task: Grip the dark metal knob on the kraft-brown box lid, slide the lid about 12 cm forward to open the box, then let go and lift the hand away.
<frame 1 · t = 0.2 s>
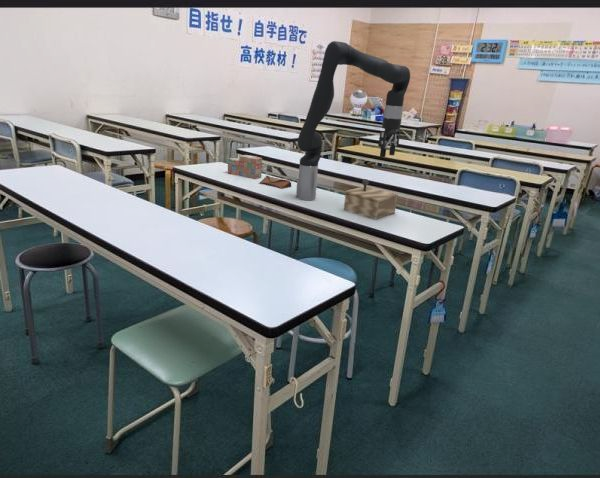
hand: (387, 156, 187), 28 cm above the table, tool pointing down, fingers open, 8 cm apart
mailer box: (369, 211, 207), on the table
stack of blocks: (244, 176, 265), on the table
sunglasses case: (274, 186, 247), on the table
box lid: (372, 187, 203), point 12 cm above the table, slide at 0.0 cm
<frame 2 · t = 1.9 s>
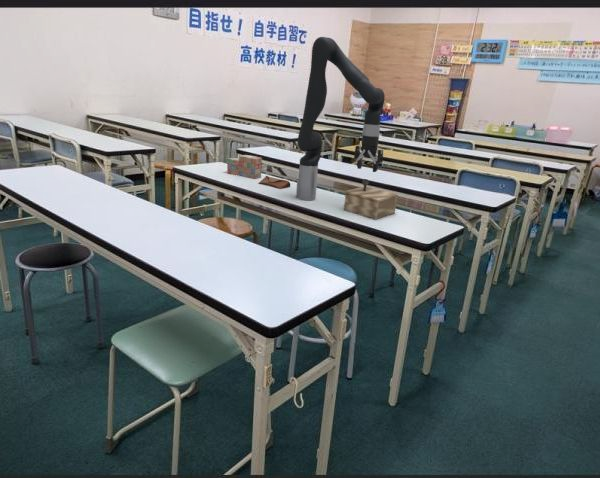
hand: (366, 170, 203), 19 cm above the table, tool pointing down, fingers open, 8 cm apart
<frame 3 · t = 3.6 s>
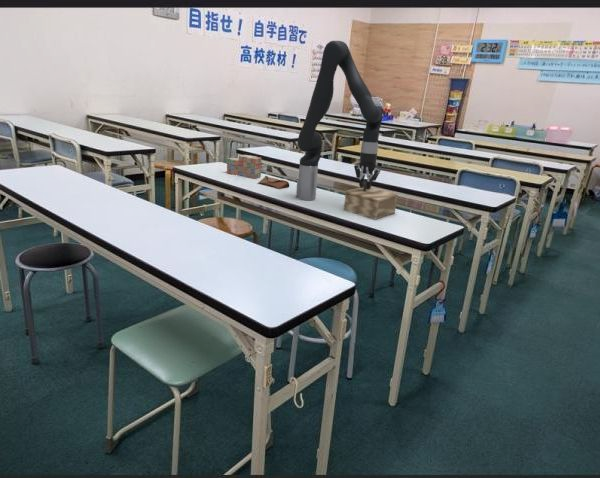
hand: (364, 188, 206), 11 cm above the table, tool pointing down, fingers closed on box lid, 3 cm apart
box lid: (372, 187, 203), point 12 cm above the table, slide at 0.0 cm, touching gripper
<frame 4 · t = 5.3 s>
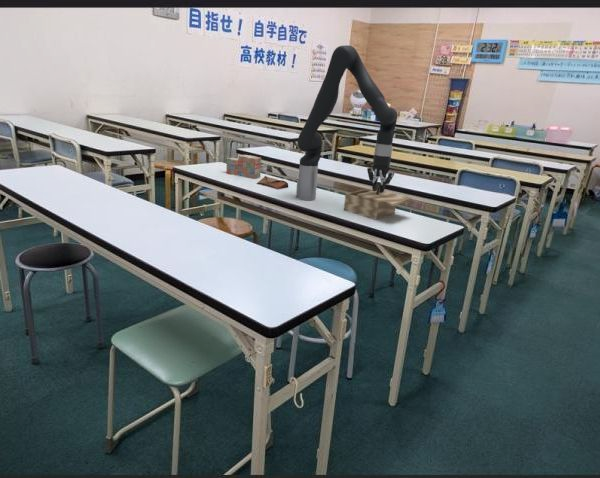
hand: (377, 191, 202), 11 cm above the table, tool pointing down, fingers closed on box lid, 3 cm apart
box lid: (385, 191, 199), point 12 cm above the table, slide at 7.4 cm, touching gripper
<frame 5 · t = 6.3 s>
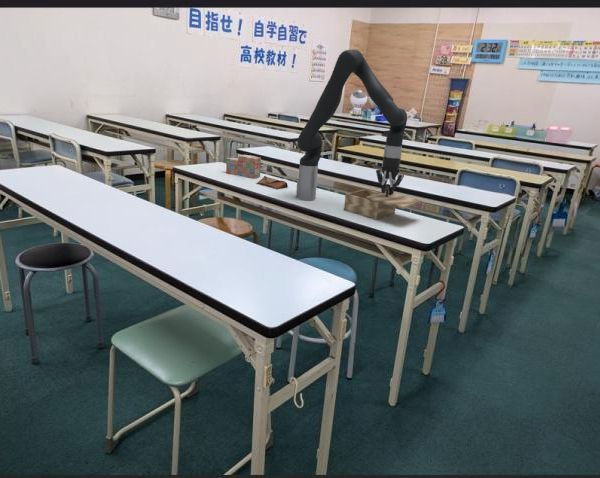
hand: (387, 193, 199), 11 cm above the table, tool pointing down, fingers closed on box lid, 3 cm apart
box lid: (394, 193, 196), point 12 cm above the table, slide at 12.3 cm, touching gripper
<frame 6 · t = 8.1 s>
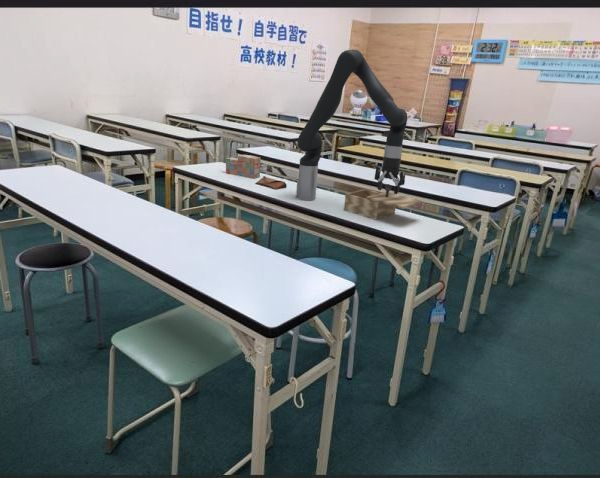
hand: (387, 191, 198), 12 cm above the table, tool pointing down, fingers open, 8 cm apart
box lid: (395, 193, 196), point 12 cm above the table, slide at 12.4 cm
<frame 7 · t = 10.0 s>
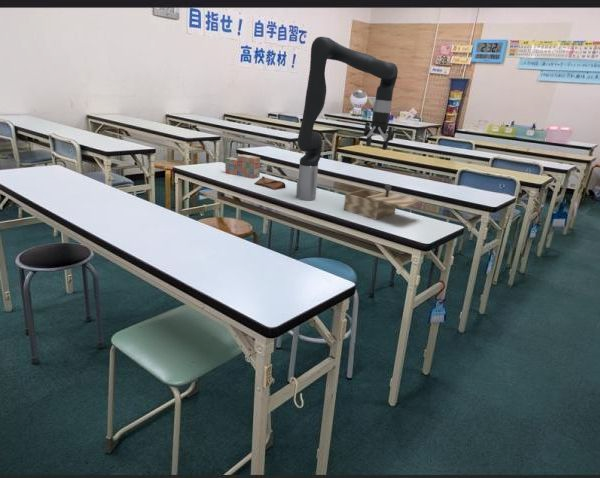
hand: (376, 147, 199), 30 cm above the table, tool pointing down, fingers open, 8 cm apart
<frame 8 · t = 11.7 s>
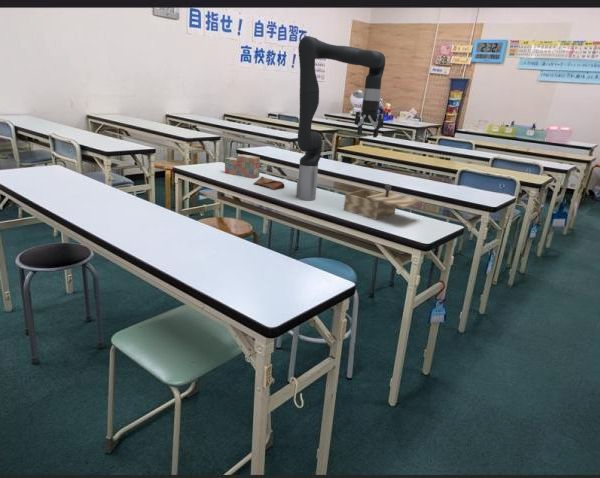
hand: (367, 136, 203), 34 cm above the table, tool pointing down, fingers open, 8 cm apart
at the end: box lid slide at 12.4 cm; the gripper is holding nothing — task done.
